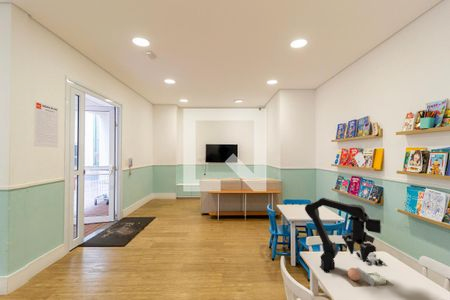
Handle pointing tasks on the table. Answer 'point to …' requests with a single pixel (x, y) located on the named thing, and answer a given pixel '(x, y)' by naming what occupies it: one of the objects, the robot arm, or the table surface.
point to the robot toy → (370, 258)
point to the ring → (377, 278)
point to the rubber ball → (354, 274)
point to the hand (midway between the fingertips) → (357, 257)
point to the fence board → (363, 280)
